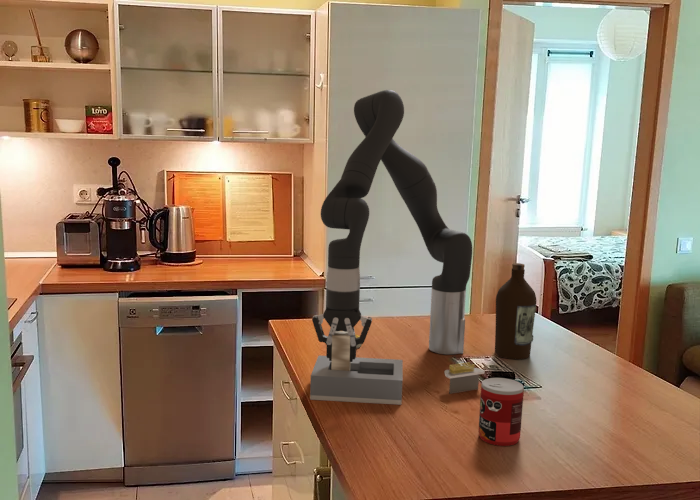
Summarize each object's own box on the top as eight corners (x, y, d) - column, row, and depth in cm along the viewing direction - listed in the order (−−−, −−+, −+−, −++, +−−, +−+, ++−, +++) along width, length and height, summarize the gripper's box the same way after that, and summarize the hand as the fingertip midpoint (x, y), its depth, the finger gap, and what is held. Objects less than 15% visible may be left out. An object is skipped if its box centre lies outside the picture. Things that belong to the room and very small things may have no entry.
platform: (414, 388, 159) (416, 361, 157) (478, 378, 166) (479, 352, 165) (442, 406, 148) (444, 378, 147) (509, 395, 155) (511, 368, 154)
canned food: (473, 429, 135) (476, 377, 134) (512, 429, 136) (516, 377, 134) (484, 447, 128) (487, 391, 126) (525, 446, 129) (529, 391, 127)
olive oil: (484, 351, 186) (489, 262, 182) (511, 346, 192) (517, 259, 188) (513, 363, 177) (519, 269, 173) (540, 356, 183) (547, 266, 179)
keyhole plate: (401, 382, 161) (402, 359, 160) (401, 404, 147) (402, 380, 146) (318, 377, 162) (318, 355, 161) (310, 399, 149) (310, 375, 148)
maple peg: (354, 380, 158) (356, 330, 155) (352, 389, 152) (354, 338, 150) (328, 378, 158) (330, 329, 156) (326, 388, 152) (327, 336, 150)
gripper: (375, 284, 154) (373, 356, 157) (313, 281, 155) (312, 353, 158) (374, 291, 147) (371, 367, 150) (309, 288, 148) (307, 364, 151)
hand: (341, 359), depth 154 cm, fingers closed on maple peg, 4 cm apart
